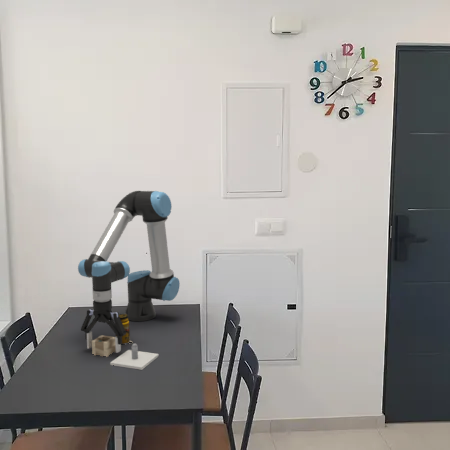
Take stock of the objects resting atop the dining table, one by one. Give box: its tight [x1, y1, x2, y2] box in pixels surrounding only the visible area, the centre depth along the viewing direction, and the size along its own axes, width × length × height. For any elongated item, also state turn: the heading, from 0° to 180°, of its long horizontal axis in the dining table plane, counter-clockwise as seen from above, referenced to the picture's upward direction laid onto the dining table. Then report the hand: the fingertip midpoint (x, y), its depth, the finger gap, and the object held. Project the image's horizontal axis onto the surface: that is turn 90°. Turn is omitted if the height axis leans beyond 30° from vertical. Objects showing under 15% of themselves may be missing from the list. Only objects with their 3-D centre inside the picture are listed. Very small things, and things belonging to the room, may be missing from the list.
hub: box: [109, 342, 160, 370], centre depth 210 cm, size 14×14×7 cm
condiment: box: [115, 313, 134, 345], centre depth 229 cm, size 7×8×12 cm
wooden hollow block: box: [91, 334, 116, 358], centre depth 218 cm, size 7×7×6 cm
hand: (103, 349), depth 218 cm, fingers open, 13 cm apart
